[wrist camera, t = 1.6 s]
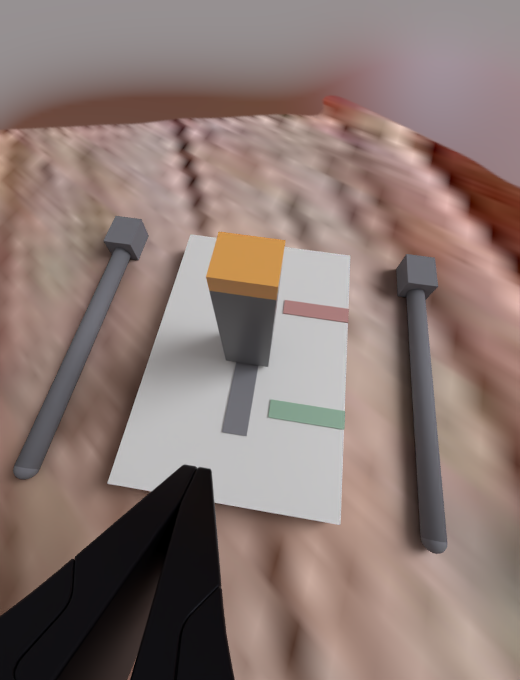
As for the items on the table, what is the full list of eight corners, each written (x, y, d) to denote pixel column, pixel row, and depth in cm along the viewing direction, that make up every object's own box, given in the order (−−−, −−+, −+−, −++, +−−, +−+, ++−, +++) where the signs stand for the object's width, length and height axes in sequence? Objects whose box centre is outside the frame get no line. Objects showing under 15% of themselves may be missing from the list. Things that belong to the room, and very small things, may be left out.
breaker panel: (332, 520, 19) (340, 525, 17) (120, 483, 20) (106, 483, 18) (343, 270, 28) (350, 254, 26) (194, 250, 28) (190, 233, 26)
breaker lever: (268, 366, 21) (278, 286, 12) (225, 360, 21) (205, 276, 12) (273, 335, 22) (285, 240, 13) (232, 329, 22) (218, 231, 13)
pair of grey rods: (448, 554, 19) (469, 562, 17) (12, 476, 20) (-13, 475, 18) (422, 272, 28) (434, 257, 26) (124, 232, 29) (115, 215, 27)
